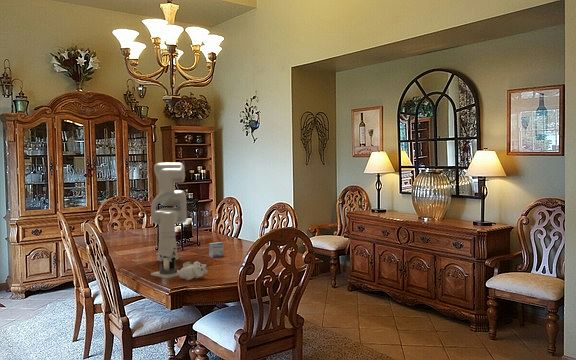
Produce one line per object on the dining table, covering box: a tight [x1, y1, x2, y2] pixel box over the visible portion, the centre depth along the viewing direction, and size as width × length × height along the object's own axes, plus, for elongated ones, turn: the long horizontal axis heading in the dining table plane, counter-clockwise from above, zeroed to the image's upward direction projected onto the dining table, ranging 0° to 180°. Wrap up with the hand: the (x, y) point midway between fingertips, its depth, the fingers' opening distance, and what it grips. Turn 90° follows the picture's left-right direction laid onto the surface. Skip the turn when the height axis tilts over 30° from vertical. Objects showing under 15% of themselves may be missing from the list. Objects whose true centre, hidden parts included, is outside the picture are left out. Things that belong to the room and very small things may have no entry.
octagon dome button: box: [150, 267, 181, 279], centre depth 275 cm, size 13×13×3 cm
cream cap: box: [163, 257, 173, 271], centre depth 274 cm, size 5×5×7 cm
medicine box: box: [208, 241, 224, 259], centre depth 321 cm, size 8×4×9 cm, turn 126°
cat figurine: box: [178, 261, 209, 282], centre depth 265 cm, size 10×8×15 cm
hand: (168, 267), depth 275 cm, fingers closed on cream cap, 4 cm apart
